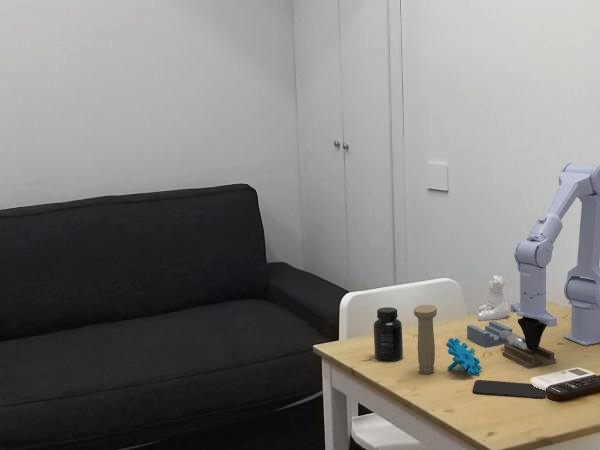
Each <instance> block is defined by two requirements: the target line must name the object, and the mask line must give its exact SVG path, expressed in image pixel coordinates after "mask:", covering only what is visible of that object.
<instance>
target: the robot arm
mask: <svg viewBox="0 0 600 450" xmlns="http://www.w3.org/2000/svg"><path fill="white" fill-rule="evenodd" d="M558 184H559V187H558V189H557V191H556V194H555V195H554V197H553V199H552V202H551V203H550V206H549V209H547V210H548V211H547V212H546V213H543V214H540V215H539V217H538V218H537V220H536V221H535V224H534V225H533V227H532V229H531V230H530V232H529V233H528V235H527V237H526V239H523V240H522V241H520V242H519V243H517V245H516V247H515V250H514V251H515V252H514V253H513V255H514V261H515V262H516V264H517V270H518V272H519V302H514V303H510V312H511V313H512V314H513V313H516V316H519V317H521V318H518V319H517V324H518V325H519V327H520V329H521V330H522V333H523V336H524V337H523V338H525V340H526V344H527V348H528V349H529V350H535V349H538V347H539V346H540V343H541V339H542V336H543V334H544V331H546V328H547V327H548V328H554V327H557V325H558V319H557V317H556V316H554V315H553V314H551V313H550V312H549V311H548V310H547V271H546V270H547V266H548V265H549V264H550V263H551V260H552V257H553V251H554V244H555V242H556V240H557V238H558V236H559V235H560V233H561V232H562V230H563V222H562V219H563V218H564V216H565V215H566V214H567V212H568V210H569V209H570V208H571V206H573V203H574V202H575V201H576V199H577V198H578V199H579V201H580V203H581V208H580V209H581V210H580V222H579V223H580V224H579V235H578V245H577V259H576V261H577V262H576V266H574V267H573V268H571V269H570V270H569V271H567V276H566V281H565V283H564V286H563V293H564V296H565V299H567V301H568V304H569V305H571V320H570V321H571V322H570V326H571V329H570V330H571V333H570V334H568V333H567V334H564V335H563V338H565V339H567V340H570V341H572V342H575V343H577V344H579V345H582V346H590V345H594V344H600V164H597V165H596V164H577V163H570V162H569V163H565V164H564V166H563V167H562V168H561V171H560V173H559V174H558Z"/></svg>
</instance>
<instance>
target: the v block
mask: <svg viewBox="0 0 600 450" xmlns="http://www.w3.org/2000/svg"><path fill="white" fill-rule="evenodd" d="M504 330H507V331H510V332H512V333H513V328H511V327H508V326H506V325H504V324H502V323H499V322H497V321H495V320H489V321H488V325H485V326H484V329H482V328H480V327H478V326H476V325H473V324H467V325H466V339H467V340H468V341H471V342H473V343H475V344H476V345H477V344H478V345H479V346H481V347H484V348H491V347H494V346H500V345H503V344H502V343H500V342H499V334H500V333H501V332H502V331H504Z"/></svg>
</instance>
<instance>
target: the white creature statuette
mask: <svg viewBox="0 0 600 450" xmlns="http://www.w3.org/2000/svg"><path fill="white" fill-rule="evenodd" d="M504 287H505V280H504V277H503V276H502V275H498V274H494V275H493V276H492V279H491V280H489V281H488V285H487V289H488V290H489V292H488V295H487V302H486V304H483V305H480V306H479V307H478V312H479V313H477V320H478V321H479V322H483V321H484V322H486V321H495V320H501V319H502V320H504V319H505V318H506V317H507V316H509V314H510V312H511V307H510V306H509V304H508V303H507V301H506V299H505V297H504V293H503V291H502V290H503V288H504Z"/></svg>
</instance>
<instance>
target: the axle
mask: <svg viewBox="0 0 600 450" xmlns="http://www.w3.org/2000/svg"><path fill="white" fill-rule="evenodd" d="M499 342H500V343H502V344H501V345H503V346H504V345H510V346H512V347H515V348H517V349H519V350H521V351H523V352H525V353H527V354H530V355H533V354H534V353H535V351H536V349H535V350H529V349H528V348H527V344H526V340H525V337H523V336H521V335H519V334H516V333H514V332H513V331H512V332H510V331H507V330H504V331H502V332H501V333H500V334H499Z"/></svg>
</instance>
